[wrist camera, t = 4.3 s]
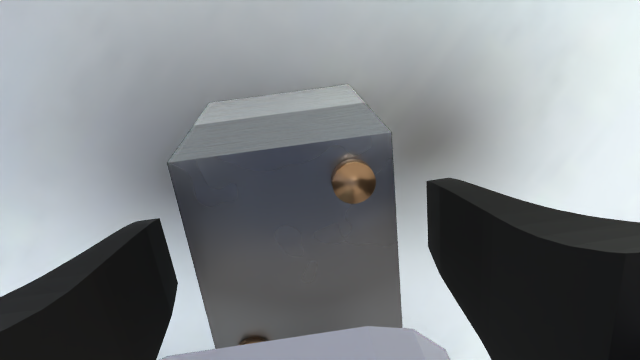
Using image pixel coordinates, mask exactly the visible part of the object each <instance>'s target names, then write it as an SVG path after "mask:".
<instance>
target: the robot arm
mask: <svg viewBox="0 0 640 360" xmlns="http://www.w3.org/2000/svg"><path fill="white" fill-rule="evenodd" d="M427 218H428V247H429V250H430V252H431V255H432V257H433V260H434V262H435V264H436V266H437V269H438V271H439V273H440V275H441V277H442V279H443V280H444V282H445V284H446V285H447V287H448V288H449V290H450V292H451V293H452V295H453V296H454V298H455V300H456V301H457V303H458V304H459V306H460V308H461V309H462V311H463V312H464V314H465V315H466V317H467V319H468V320H469V322H470V323H471V325H472V326H473V328H474V330H475V331H476V333H477V334H478V336H479V338H480V339H481V341H482V343H483V345H484V346H485V348H486V350H487V352H488V353H489V356H490V358H491V360H640V223H639V222H630V221H622V220H614V219H606V218H599V217H592V216H586V215H581V214H576V213H571V212H566V211H561V210H556V209H552V208H548V207H544V206H540V205H536V204H533V203H529V202H526V201H522V200H519V199H516V198H512V197H509V196H506V195H503V194H500V193H497V192H494V191H491V190H488V189H485V188H482V187H479V186H477V185H474V184H471V183H468V182H464V181H461V180H457V179H452V178H445V179H438V180H431V181H427ZM177 285H178V282H177V279H176V275H175V271H174V268H173V264H172V261H171V257H170V254H169V250H168V246H167V243H166V239H165V236H164V232H163V229H162V225H161V222H160V218H158V219H151V220H144V221H137V222H134V223H132V224H129V225H127V226H126V227H124V228H122V229H120V230H118V231H117V232H115V233H113V234H112V235H110V236H108V237H107V238H105V239H104V240H102V241H100V242H99V243H97V244H96V245H94V246H92V247H91V248H89V249H88V250H86V251H84V252H83V253H81V254H79V255H78V256H76V257H74V258H73V259H71V260H69V261H68V262H66V263H64V264H62V265H61V266H59V267H57V268H56V269H54V270H52V271H50V272H49V273H47V274H45V275H44V276H42V277H40V278H38V279H36V280H34V281H32V282H30V283H28V284H26V285H25V286H23V287H21V288H18V289H16V290H14V291H12V292H10V293H8V294H6V295H4V296H2V297H0V360H156V358H157V356H158V353H159V350H160V347H161V345H162V342H163V339H164V336H165V333H166V331H167V328H168V325H169V322H170V319H171V316H172V312H173V307H174V302H175V297H176V291H177ZM159 360H450V358H449V356H448V354H447V352H446V350H445V349H444V348H442V347H441V346H439V345H437V344H436V343H434V342H433V341H431V340H430V339H428V338H426V337H425V336H423V335H422V334H420V333H419V332H417V331H415V330H414V329H407V328H391V327H376V326H364V327H358V328H351V329H344V330H338V331H331V332H324V333H318V334H311V335H305V336H298V337H291V338H285V339H278V340H271V341H265V342H258V343H252V344H245V345H238V346H232V347H225V348H218V349H212V350H205V351H199V352H192V353H185V354H179V355H172V356H167V357H164V358H162V359H159Z"/></svg>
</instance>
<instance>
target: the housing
mask: <svg viewBox="0 0 640 360" xmlns="http://www.w3.org/2000/svg"><path fill="white" fill-rule="evenodd" d="M167 165H168V168H169V172H170V176H171V180H172V184H173V188H174V191H175V195H176V199H177V203H178V207H179V211H180V214H181V218H182V222H183V226H184V230H185V234H186V237H187V241H188V245H189V249H190V253H191V257H192V260H193V264H194V268H195V272H196V276H197V280H198V283H199V287H200V291H201V295H202V299H203V303H204V306H205V310H206V314H207V318H208V322H209V326H210V329H211V333H212V337H213V341H214V345H215V349H218V348H225V347H232V346H238V345H245V344H252V343H258V342H265V341H271V340H278V339H285V338H291V337H298V336H305V335H311V334H318V333H324V332H331V331H338V330H344V329H351V328H358V327H364V326H376V327H391V328H402V313H401V295H400V277H399V259H398V241H397V222H396V204H395V186H394V168H393V150H392V132H391V131H390V130H389V129H388V128H387V127H386V126H385V124H384V123H383V122H382V121H381V120H380V119H379V118H378V117H377V116H376V114H375V113H374V112H373V111H372V110H371V109H370V108H369V107H368V106H367V104H366V103H365V102H364V101H363V100H362V99H361V98H360V97H359V96H358V94H357V93H356V92H355V91H354V90H353V89H352V88H351V87H350V86H349V84H347V85H339V86H332V87H324V88H317V89H309V90H301V91H294V92H286V93H279V94H271V95H264V96H256V97H248V98H241V99H233V100H226V101H218V102H211V103H209V104H208V105H207V107H206V108H205V109H204V111H203V112H202V114H201V115H200V117H199V118H198V119H197V121H196V122H195V124H194V125H193V127H192V128H191V129H190V131H189V132H188V134H187V135H186V137H185V138H184V139H183V141H182V142H181V144H180V145H179V147H178V148H177V149H176V151H175V152H174V154H173V155H172V157H171V158H170V159H169V161H168V162H167Z"/></svg>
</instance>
